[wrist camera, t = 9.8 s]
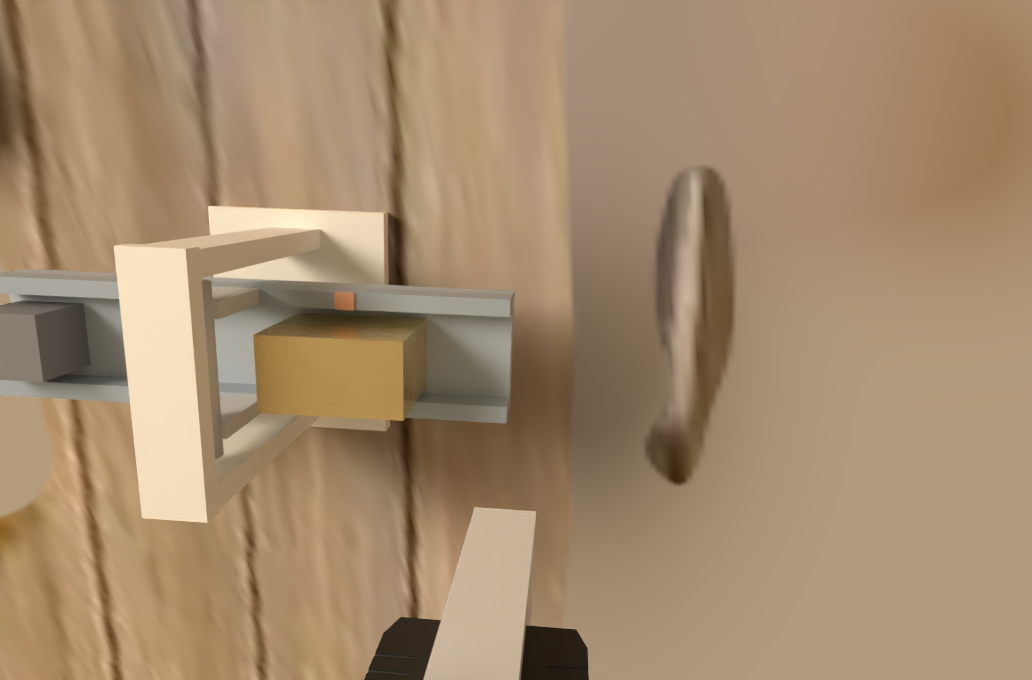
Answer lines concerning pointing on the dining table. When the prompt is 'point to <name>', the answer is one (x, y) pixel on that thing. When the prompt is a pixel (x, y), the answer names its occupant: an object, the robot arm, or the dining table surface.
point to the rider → (341, 366)
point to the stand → (183, 350)
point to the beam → (249, 340)
